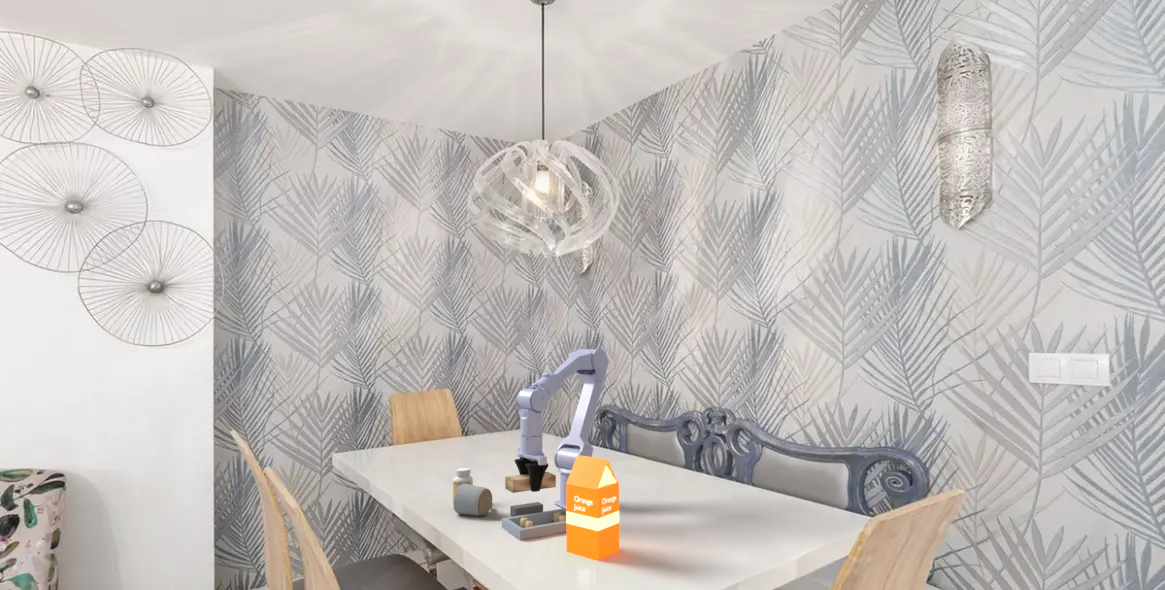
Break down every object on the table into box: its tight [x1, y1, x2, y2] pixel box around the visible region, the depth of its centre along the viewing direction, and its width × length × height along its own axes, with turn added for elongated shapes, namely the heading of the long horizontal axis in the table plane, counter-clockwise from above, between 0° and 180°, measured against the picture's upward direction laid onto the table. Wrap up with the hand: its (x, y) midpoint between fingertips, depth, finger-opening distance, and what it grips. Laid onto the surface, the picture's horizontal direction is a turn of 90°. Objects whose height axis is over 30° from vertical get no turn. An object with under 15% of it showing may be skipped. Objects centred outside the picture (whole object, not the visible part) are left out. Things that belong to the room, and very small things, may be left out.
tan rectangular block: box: [504, 471, 557, 494], centre depth 153 cm, size 12×5×3 cm, turn 119°
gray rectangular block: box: [509, 501, 544, 517], centre depth 155 cm, size 8×3×2 cm, turn 120°
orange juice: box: [566, 455, 620, 562], centre depth 129 cm, size 8×9×20 cm
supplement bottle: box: [452, 467, 474, 502], centre depth 166 cm, size 5×5×10 cm
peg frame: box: [501, 508, 567, 541], centre depth 144 cm, size 17×11×2 cm, turn 120°
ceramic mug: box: [452, 484, 493, 517], centre depth 157 cm, size 11×8×8 cm
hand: (531, 488), depth 153 cm, fingers closed on tan rectangular block, 5 cm apart
